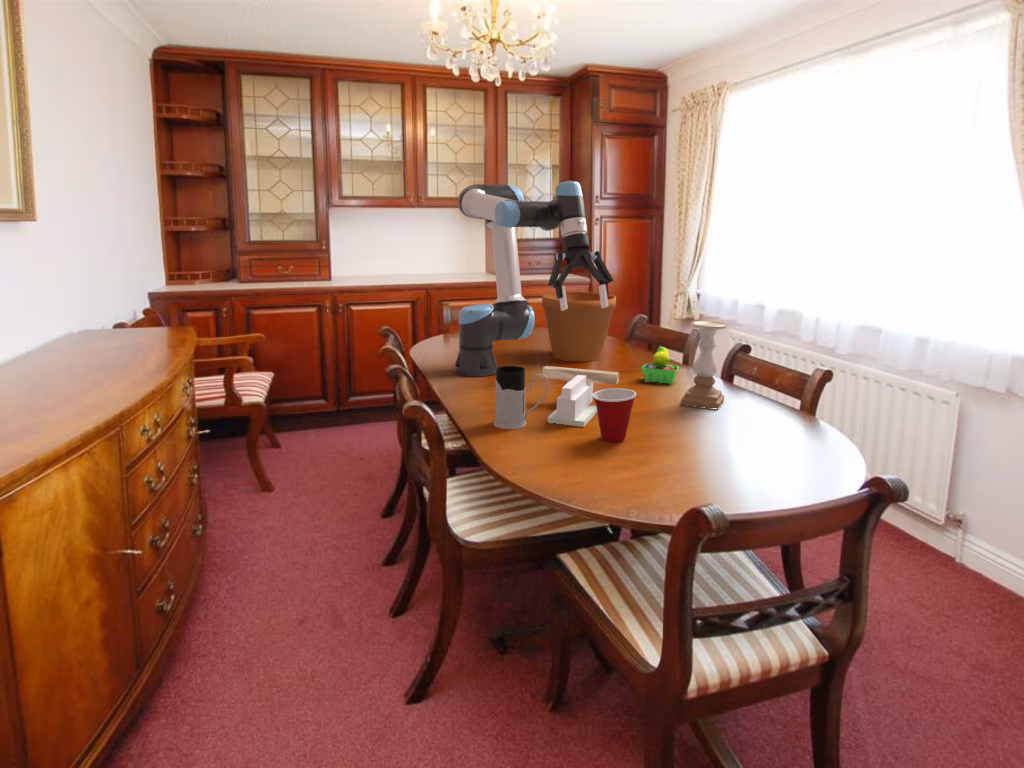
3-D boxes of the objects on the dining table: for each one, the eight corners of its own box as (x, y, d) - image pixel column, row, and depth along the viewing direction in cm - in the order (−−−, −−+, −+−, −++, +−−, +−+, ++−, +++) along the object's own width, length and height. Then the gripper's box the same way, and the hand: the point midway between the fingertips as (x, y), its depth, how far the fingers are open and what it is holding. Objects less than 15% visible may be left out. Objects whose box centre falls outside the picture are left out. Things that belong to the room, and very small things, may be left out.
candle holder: (724, 401, 208) (731, 322, 202) (718, 410, 199) (725, 327, 193) (687, 396, 213) (693, 319, 207) (680, 405, 203) (685, 324, 197)
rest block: (573, 398, 209) (573, 376, 207) (592, 400, 207) (593, 378, 205) (565, 405, 201) (566, 382, 200) (585, 407, 199) (586, 384, 198)
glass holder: (494, 419, 188) (494, 365, 184) (546, 420, 188) (548, 365, 184) (492, 428, 180) (492, 372, 176) (547, 429, 179) (548, 373, 175)
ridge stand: (563, 407, 200) (564, 373, 197) (597, 411, 196) (599, 376, 194) (547, 422, 185) (548, 386, 183) (583, 427, 182) (585, 390, 179)
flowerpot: (536, 362, 258) (537, 299, 252) (545, 348, 285) (546, 291, 279) (612, 366, 254) (615, 302, 248) (614, 351, 281) (616, 293, 275)
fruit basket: (639, 382, 230) (641, 349, 227) (645, 376, 238) (647, 344, 235) (674, 386, 226) (677, 352, 223) (679, 380, 234) (681, 347, 231)
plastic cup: (586, 432, 177) (588, 387, 174) (628, 431, 178) (630, 386, 175) (594, 446, 167) (596, 398, 164) (639, 445, 168) (641, 397, 165)
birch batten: (545, 375, 207) (545, 366, 207) (618, 382, 200) (618, 372, 199) (542, 378, 205) (542, 368, 204) (616, 384, 197) (616, 374, 197)
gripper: (542, 232, 191) (553, 308, 190) (618, 231, 202) (628, 303, 201) (530, 240, 198) (540, 313, 197) (604, 239, 208) (614, 308, 207)
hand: (585, 308), depth 199 cm, fingers open, 13 cm apart
